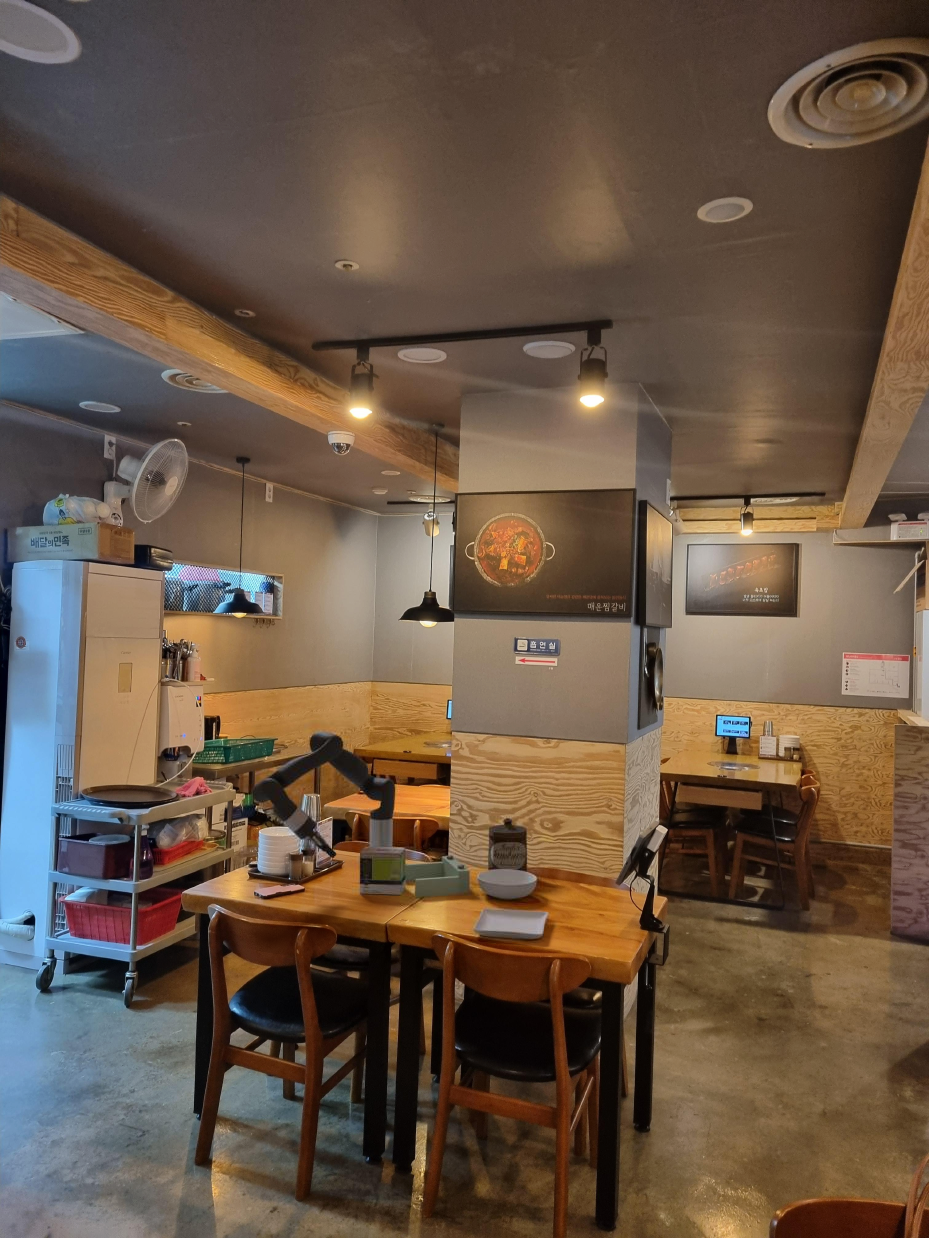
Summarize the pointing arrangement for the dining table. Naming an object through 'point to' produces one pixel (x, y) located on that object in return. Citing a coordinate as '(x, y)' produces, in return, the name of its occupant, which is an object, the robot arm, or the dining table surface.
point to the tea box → (382, 870)
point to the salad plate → (511, 923)
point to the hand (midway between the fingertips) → (334, 855)
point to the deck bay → (439, 877)
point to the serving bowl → (507, 883)
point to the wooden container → (507, 847)
